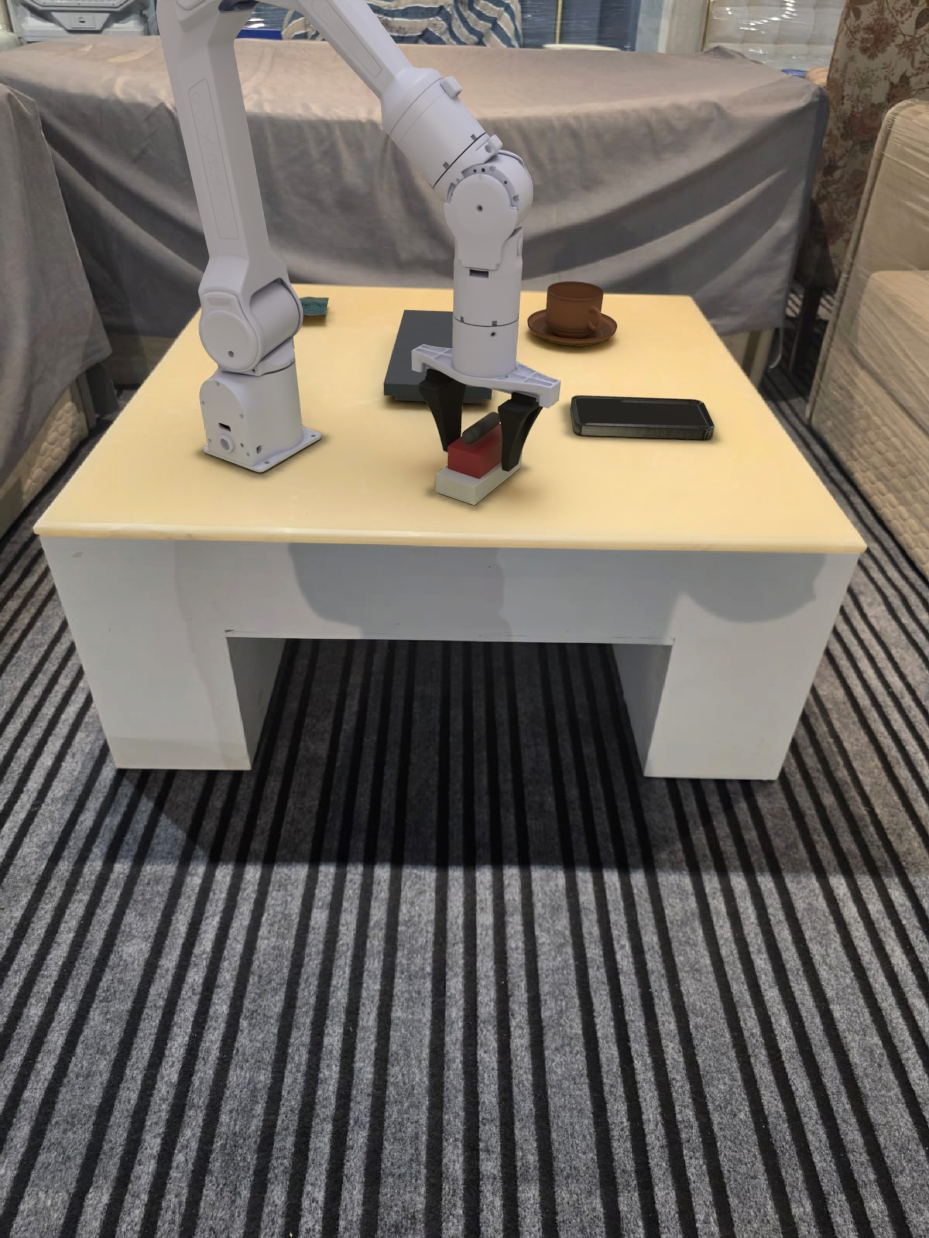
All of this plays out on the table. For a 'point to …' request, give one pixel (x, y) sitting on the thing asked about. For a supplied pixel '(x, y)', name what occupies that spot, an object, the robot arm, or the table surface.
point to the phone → (641, 417)
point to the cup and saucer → (573, 315)
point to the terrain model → (314, 305)
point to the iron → (475, 462)
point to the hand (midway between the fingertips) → (480, 457)
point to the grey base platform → (412, 334)
